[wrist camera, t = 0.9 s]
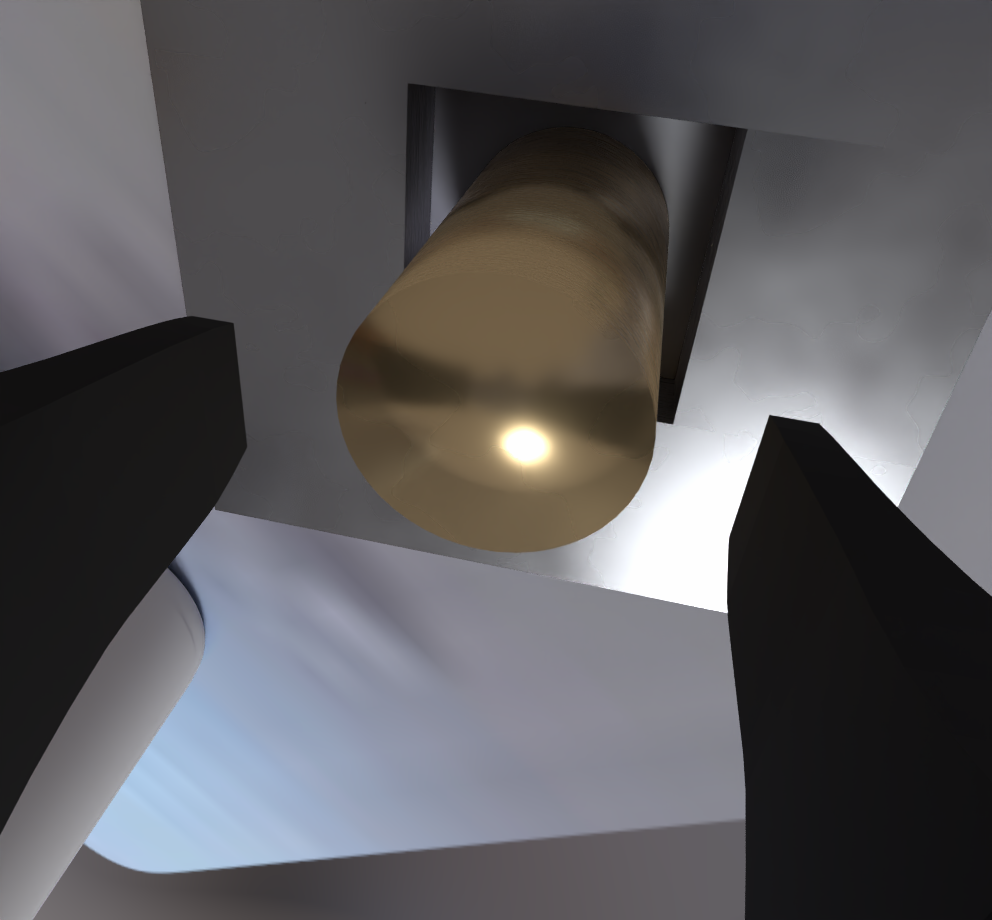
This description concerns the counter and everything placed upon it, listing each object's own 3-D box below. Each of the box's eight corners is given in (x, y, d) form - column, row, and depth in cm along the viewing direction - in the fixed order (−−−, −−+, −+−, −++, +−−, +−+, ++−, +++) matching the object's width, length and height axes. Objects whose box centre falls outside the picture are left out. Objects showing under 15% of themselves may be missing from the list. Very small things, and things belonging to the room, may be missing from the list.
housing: (1172, -211, 12) (1248, -230, 10) (825, 579, 21) (836, 634, 20) (163, -295, 14) (92, -323, 12) (248, 467, 23) (215, 509, 21)
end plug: (690, 143, 16) (689, 304, 9) (646, 343, 18) (623, 577, 12) (472, 113, 16) (331, 246, 10) (460, 312, 19) (340, 521, 12)
